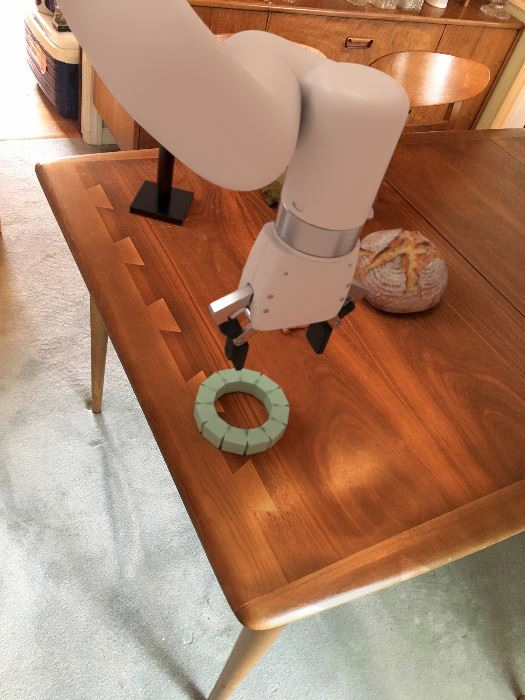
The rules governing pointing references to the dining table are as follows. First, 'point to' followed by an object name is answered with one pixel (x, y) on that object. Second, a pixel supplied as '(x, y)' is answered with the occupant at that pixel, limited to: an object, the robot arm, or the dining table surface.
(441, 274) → the bread
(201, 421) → the ring
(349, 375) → the dining table surface
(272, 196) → the seashell
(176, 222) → the post
